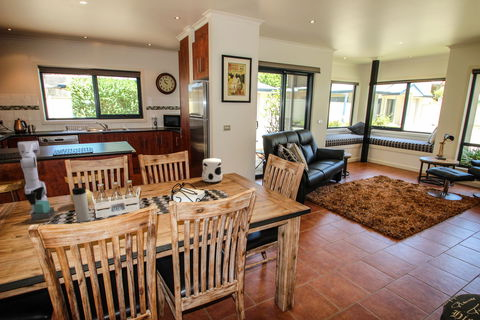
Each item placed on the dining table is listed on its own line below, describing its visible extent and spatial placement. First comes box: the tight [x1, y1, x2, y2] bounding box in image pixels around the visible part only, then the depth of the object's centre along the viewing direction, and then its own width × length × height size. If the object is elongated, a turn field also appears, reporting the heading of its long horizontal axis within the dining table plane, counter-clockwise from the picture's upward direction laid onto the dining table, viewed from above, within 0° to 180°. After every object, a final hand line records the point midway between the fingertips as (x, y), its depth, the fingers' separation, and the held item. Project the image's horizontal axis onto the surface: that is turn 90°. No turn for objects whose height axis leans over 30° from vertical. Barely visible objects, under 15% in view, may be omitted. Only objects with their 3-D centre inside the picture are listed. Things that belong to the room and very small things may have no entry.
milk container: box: [201, 157, 224, 184], centre depth 214 cm, size 17×17×18 cm
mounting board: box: [26, 210, 59, 225], centre depth 147 cm, size 13×11×1 cm
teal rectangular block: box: [33, 200, 51, 214], centre depth 145 cm, size 5×5×8 cm
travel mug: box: [71, 186, 91, 224], centre depth 141 cm, size 6×7×20 cm
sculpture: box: [70, 188, 94, 205], centre depth 165 cm, size 12×12×11 cm
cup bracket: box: [28, 206, 57, 221], centre depth 146 cm, size 10×10×3 cm
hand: (36, 202), depth 144 cm, fingers open, 7 cm apart
